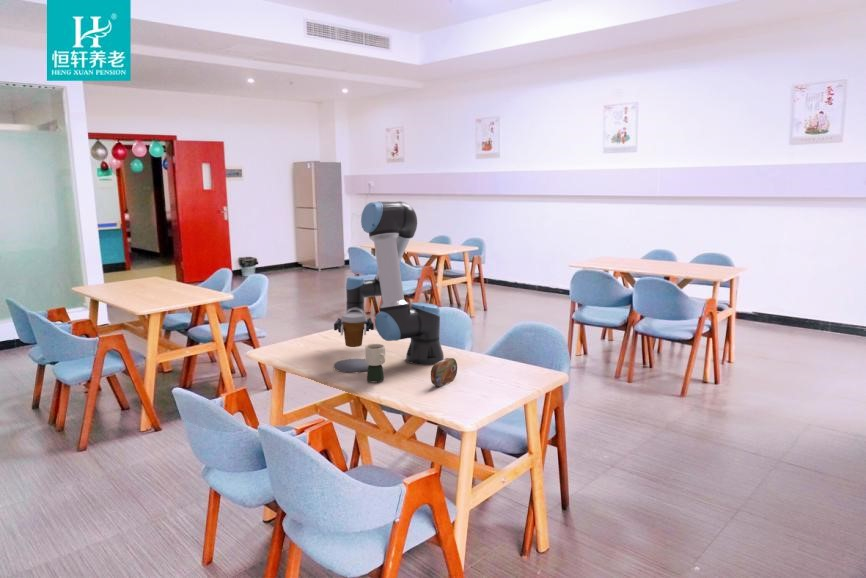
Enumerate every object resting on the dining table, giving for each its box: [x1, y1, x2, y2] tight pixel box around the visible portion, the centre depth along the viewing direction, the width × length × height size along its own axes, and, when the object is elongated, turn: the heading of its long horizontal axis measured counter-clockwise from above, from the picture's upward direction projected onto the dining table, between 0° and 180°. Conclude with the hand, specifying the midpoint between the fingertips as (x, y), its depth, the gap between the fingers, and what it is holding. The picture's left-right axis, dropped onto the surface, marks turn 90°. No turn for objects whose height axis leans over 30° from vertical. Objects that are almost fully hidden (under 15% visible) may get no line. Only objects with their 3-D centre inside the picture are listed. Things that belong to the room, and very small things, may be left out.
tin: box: [430, 357, 458, 388], centre depth 212 cm, size 15×3×8 cm, turn 148°
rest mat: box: [333, 358, 369, 374], centre depth 231 cm, size 16×16×1 cm
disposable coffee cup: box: [340, 312, 367, 348], centre depth 229 cm, size 10×10×12 cm
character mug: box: [364, 343, 386, 383], centre depth 213 cm, size 11×7×13 cm, turn 39°
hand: (353, 331), depth 224 cm, fingers closed on disposable coffee cup, 8 cm apart
